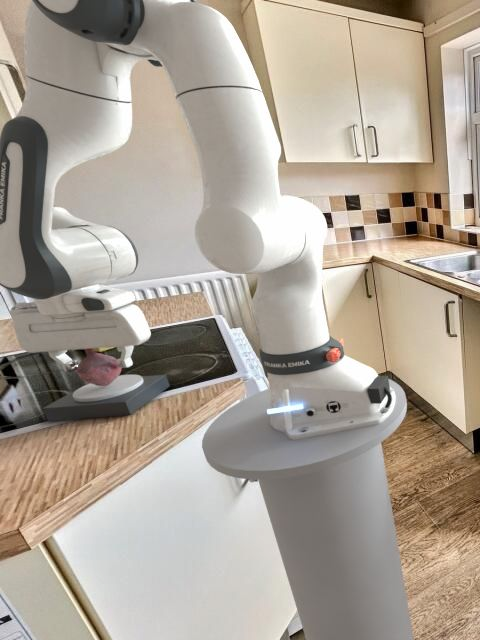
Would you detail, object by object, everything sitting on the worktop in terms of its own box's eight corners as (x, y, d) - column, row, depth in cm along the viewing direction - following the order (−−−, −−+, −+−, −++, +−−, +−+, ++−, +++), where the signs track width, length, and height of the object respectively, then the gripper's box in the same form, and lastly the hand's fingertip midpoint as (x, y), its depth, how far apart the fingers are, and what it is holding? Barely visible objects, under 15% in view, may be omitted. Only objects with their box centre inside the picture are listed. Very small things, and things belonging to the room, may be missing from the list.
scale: (170, 386, 91) (164, 371, 89) (130, 414, 80) (123, 398, 78) (98, 391, 89) (92, 376, 88) (48, 421, 78) (39, 404, 77)
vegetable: (78, 391, 82) (57, 343, 78) (116, 377, 87) (98, 332, 83) (95, 396, 79) (74, 347, 76) (133, 382, 85) (115, 335, 81)
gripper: (-12, 308, 73) (24, 380, 78) (118, 300, 75) (145, 371, 80) (23, 298, 78) (54, 366, 83) (142, 292, 81) (166, 358, 86)
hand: (99, 368), depth 82 cm, fingers open, 8 cm apart
